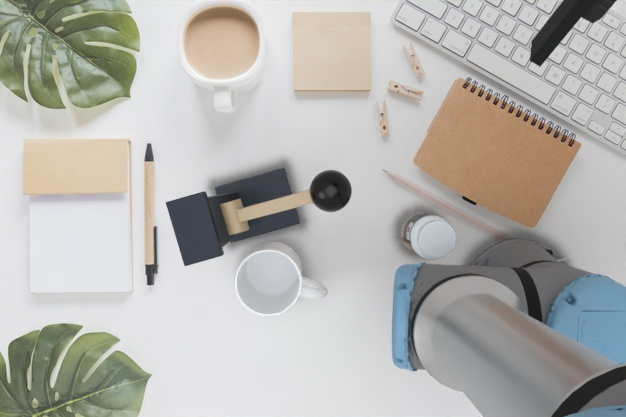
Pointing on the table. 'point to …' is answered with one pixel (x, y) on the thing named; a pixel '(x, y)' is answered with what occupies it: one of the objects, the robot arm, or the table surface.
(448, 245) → the pill bottle
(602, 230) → the table surface
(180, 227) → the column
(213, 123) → the table surface
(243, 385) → the table surface
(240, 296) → the mug
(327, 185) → the lever
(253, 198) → the footplate
